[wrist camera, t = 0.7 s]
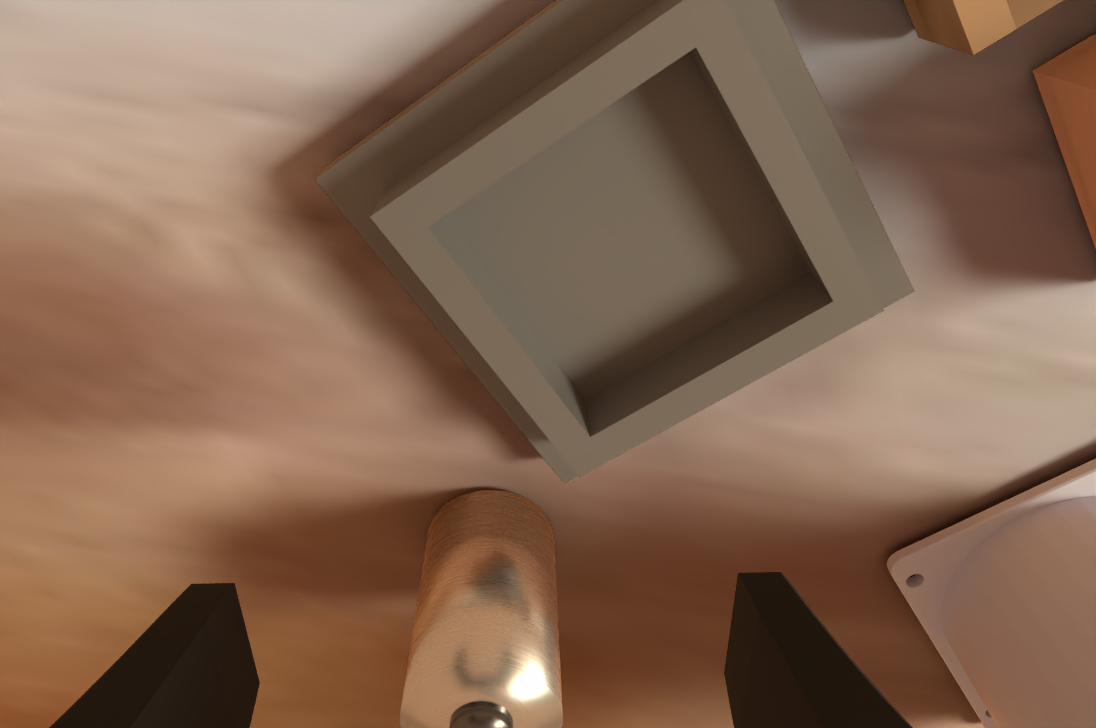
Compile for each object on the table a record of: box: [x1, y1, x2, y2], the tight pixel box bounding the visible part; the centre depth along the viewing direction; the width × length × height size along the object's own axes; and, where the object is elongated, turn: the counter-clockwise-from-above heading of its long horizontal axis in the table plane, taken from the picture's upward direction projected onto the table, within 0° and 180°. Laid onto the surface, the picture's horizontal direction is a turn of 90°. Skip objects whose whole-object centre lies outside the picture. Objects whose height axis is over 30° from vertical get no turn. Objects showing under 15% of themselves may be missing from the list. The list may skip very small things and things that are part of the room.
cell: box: [400, 490, 563, 728], centre depth 21 cm, size 4×4×6 cm
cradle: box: [315, 0, 914, 483], centre depth 18 cm, size 10×10×3 cm
